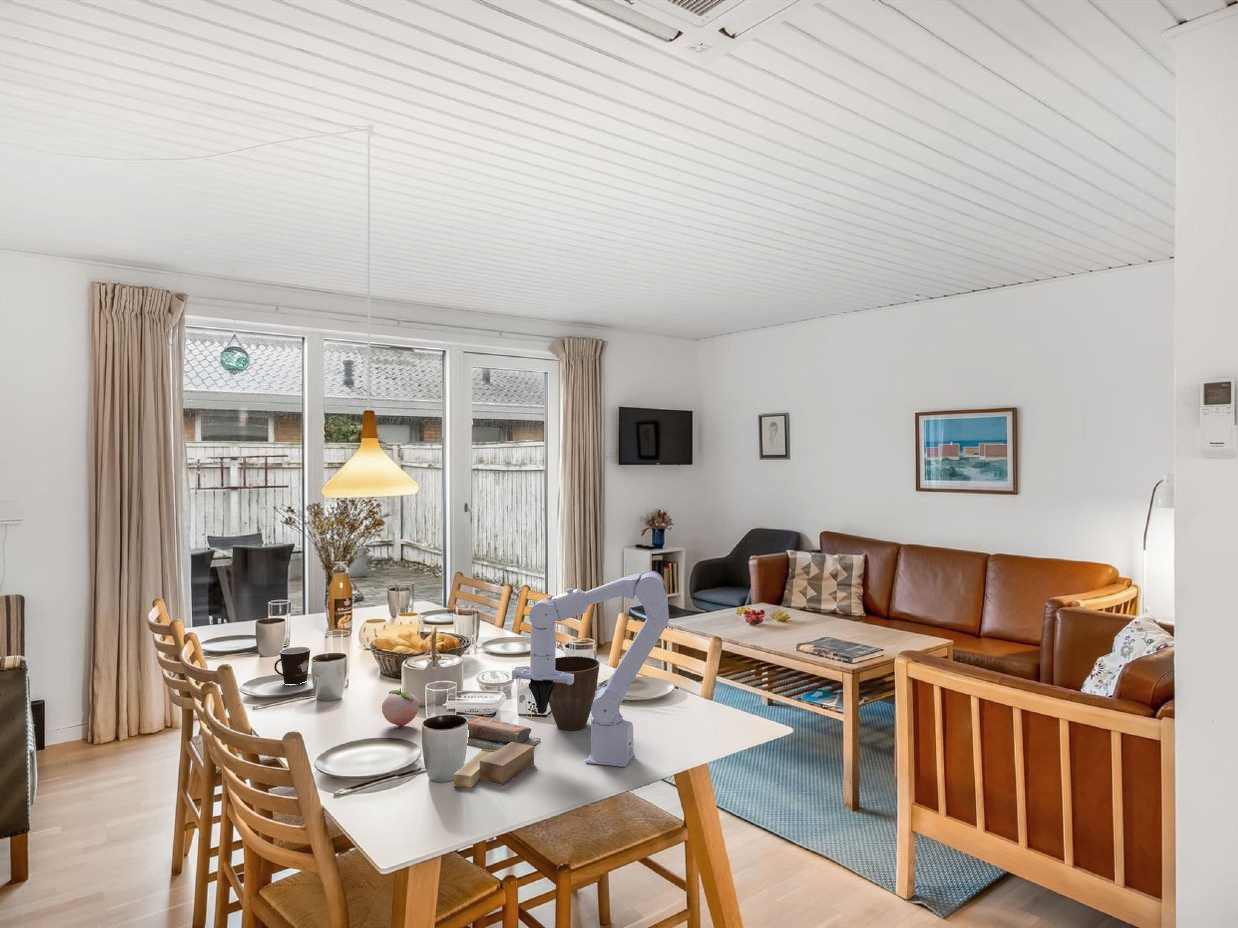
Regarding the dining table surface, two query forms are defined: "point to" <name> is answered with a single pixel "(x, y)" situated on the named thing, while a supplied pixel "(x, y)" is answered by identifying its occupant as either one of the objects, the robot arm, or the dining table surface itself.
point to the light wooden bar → (471, 770)
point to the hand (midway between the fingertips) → (542, 712)
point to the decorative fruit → (400, 707)
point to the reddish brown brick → (497, 734)
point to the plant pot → (574, 692)
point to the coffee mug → (294, 664)
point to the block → (506, 763)
